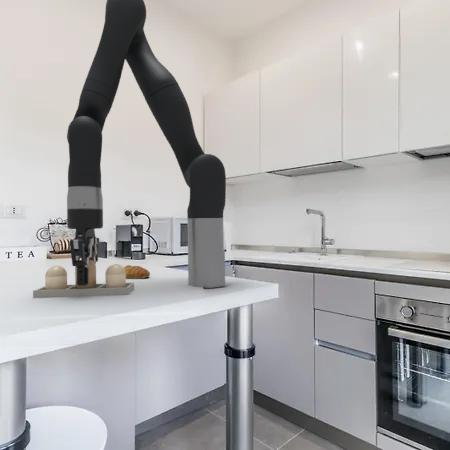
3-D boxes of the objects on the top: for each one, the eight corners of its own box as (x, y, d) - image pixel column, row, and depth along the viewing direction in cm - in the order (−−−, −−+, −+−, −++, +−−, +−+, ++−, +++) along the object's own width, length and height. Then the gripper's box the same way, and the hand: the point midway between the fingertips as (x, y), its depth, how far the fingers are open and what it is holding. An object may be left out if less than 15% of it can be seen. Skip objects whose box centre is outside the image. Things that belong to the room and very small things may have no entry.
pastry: (155, 277, 106) (155, 265, 106) (139, 281, 100) (138, 268, 100) (134, 275, 111) (133, 264, 111) (117, 278, 105) (117, 266, 105)
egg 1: (70, 292, 80) (69, 264, 80) (63, 295, 75) (62, 266, 76) (50, 292, 79) (49, 264, 79) (42, 296, 75) (41, 267, 75)
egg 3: (127, 290, 81) (127, 262, 81) (123, 293, 77) (123, 264, 77) (108, 290, 81) (107, 263, 81) (103, 294, 76) (103, 265, 76)
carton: (134, 291, 82) (134, 282, 82) (128, 296, 75) (128, 287, 75) (47, 293, 81) (46, 285, 81) (33, 300, 74) (33, 290, 74)
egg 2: (98, 284, 80) (98, 257, 80) (93, 288, 76) (92, 259, 76) (79, 285, 80) (78, 257, 80) (72, 289, 76) (72, 259, 76)
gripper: (93, 205, 71) (94, 288, 71) (109, 209, 86) (110, 278, 85) (55, 206, 71) (56, 289, 71) (78, 209, 85) (79, 279, 85)
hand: (86, 283), depth 78 cm, fingers closed on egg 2, 4 cm apart
